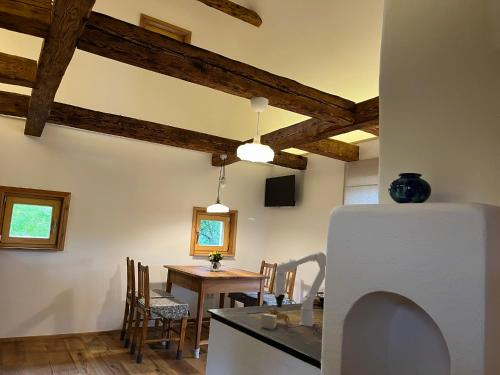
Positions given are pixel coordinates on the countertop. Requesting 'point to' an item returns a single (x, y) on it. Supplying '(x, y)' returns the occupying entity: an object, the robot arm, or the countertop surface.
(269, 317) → the book row
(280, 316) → the lion figurine
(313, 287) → the robot arm
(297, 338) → the countertop surface
